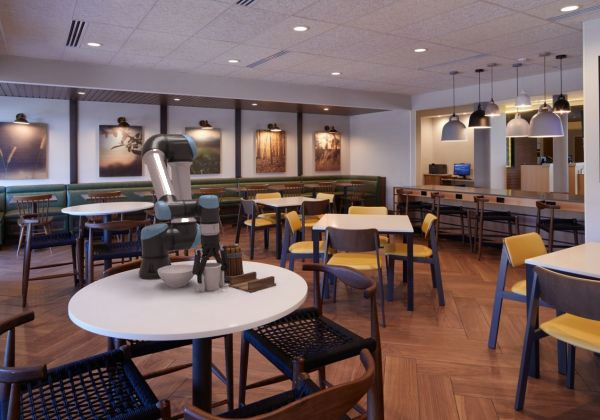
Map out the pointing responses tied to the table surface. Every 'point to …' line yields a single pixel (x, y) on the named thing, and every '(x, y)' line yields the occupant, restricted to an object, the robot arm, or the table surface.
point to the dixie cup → (211, 276)
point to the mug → (233, 262)
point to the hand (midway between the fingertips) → (211, 288)
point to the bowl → (176, 274)
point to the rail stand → (251, 282)
